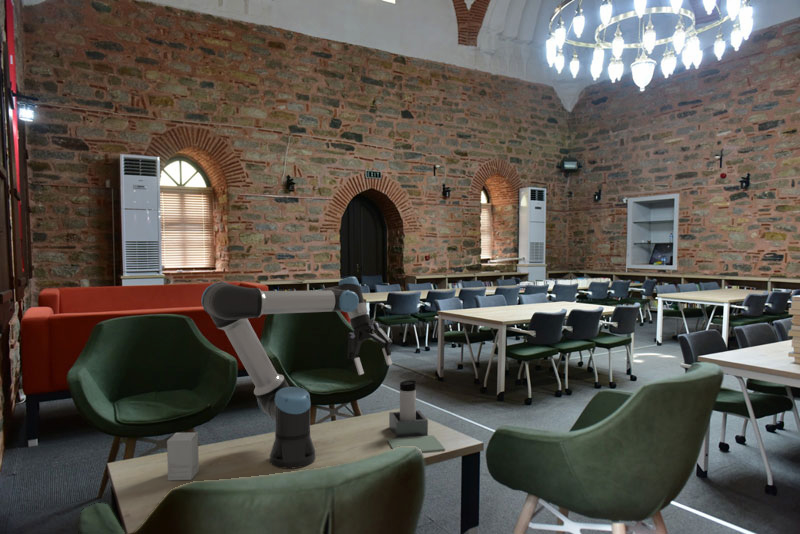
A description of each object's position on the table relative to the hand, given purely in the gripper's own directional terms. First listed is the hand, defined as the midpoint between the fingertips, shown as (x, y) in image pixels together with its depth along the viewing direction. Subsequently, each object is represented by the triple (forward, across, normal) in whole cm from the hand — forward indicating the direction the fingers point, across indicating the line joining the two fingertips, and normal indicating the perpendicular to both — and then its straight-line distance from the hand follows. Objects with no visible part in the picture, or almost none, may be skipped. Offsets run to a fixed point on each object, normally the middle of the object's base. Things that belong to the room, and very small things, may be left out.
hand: (375, 369), depth 198 cm
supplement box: (+13, +43, +57) cm, 73 cm away
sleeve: (+26, +3, -13) cm, 30 cm away
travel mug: (+27, +3, -13) cm, 30 cm away
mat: (+30, -6, -2) cm, 31 cm away
